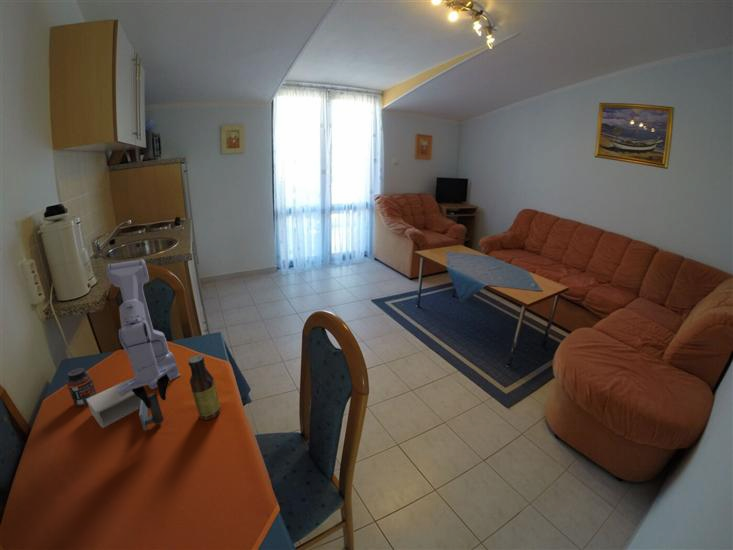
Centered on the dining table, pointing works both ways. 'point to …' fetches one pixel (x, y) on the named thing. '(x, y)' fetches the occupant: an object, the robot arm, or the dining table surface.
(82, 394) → the supplement bottle
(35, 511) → the dining table surface
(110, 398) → the carton
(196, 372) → the sauce bottle
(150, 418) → the dark grey door handle
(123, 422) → the dining table surface
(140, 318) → the robot arm
